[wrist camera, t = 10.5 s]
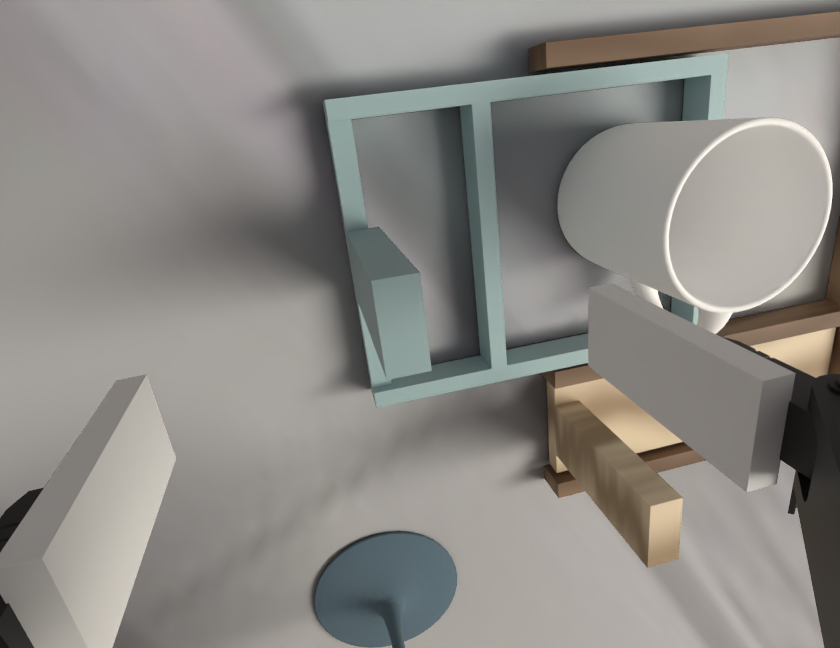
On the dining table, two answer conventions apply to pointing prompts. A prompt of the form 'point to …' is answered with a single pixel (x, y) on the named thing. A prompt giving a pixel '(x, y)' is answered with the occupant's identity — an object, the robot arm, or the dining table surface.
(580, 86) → the teal divided frame
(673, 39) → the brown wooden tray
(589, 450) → the light wood drawer
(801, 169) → the mug
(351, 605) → the cocktail glass
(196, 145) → the dining table surface
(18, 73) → the dining table surface
